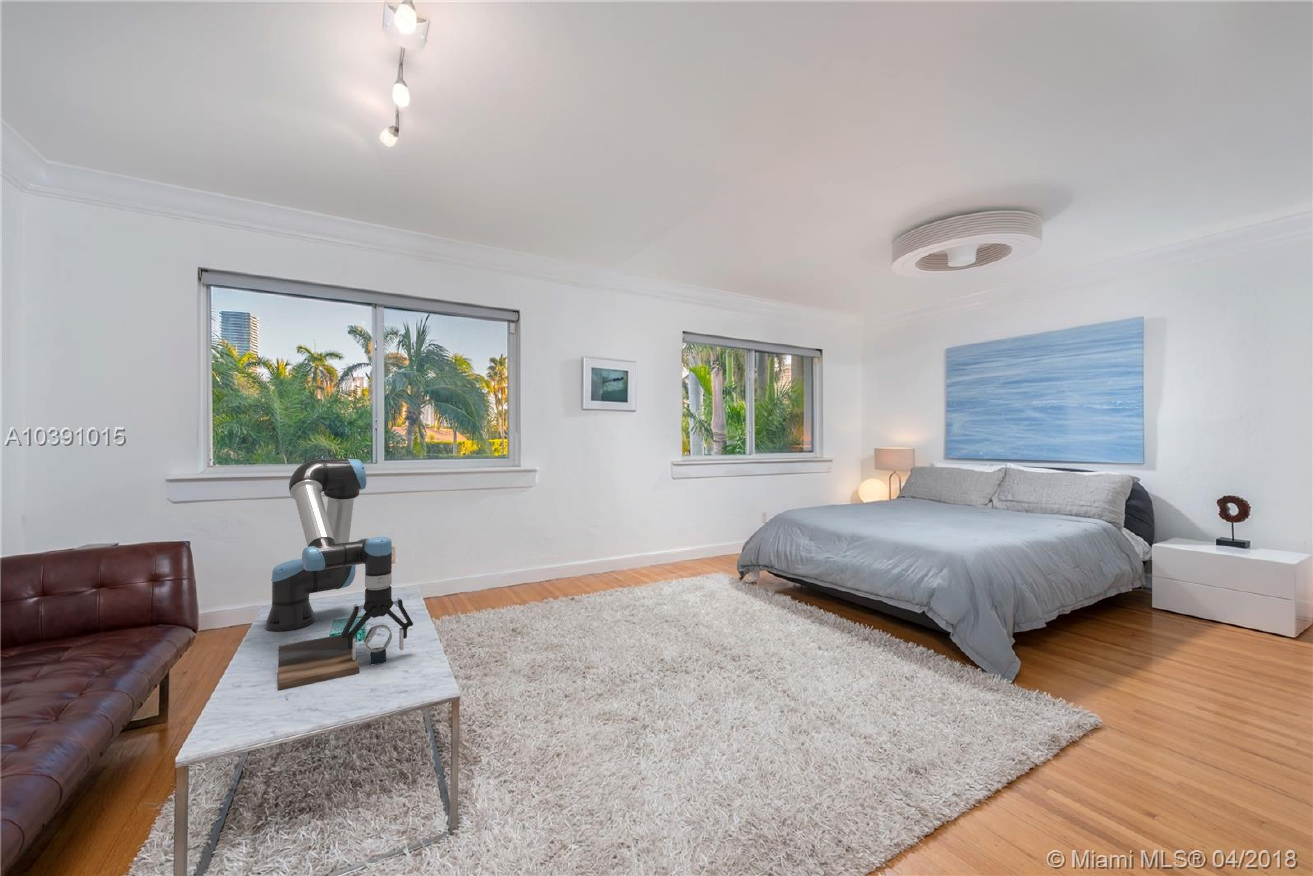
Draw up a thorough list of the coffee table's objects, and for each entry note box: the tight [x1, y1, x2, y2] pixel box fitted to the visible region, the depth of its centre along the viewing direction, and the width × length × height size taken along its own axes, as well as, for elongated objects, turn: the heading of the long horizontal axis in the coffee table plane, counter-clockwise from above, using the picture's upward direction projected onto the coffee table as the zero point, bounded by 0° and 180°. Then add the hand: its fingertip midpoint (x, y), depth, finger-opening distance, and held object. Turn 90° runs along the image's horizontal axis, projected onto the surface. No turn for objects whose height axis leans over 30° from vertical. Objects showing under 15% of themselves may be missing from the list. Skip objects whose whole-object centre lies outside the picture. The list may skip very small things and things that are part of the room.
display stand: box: [277, 634, 360, 691], centre depth 165 cm, size 14×20×8 cm
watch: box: [363, 624, 393, 665], centre depth 174 cm, size 6×8×11 cm
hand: (378, 653), depth 174 cm, fingers open, 13 cm apart
